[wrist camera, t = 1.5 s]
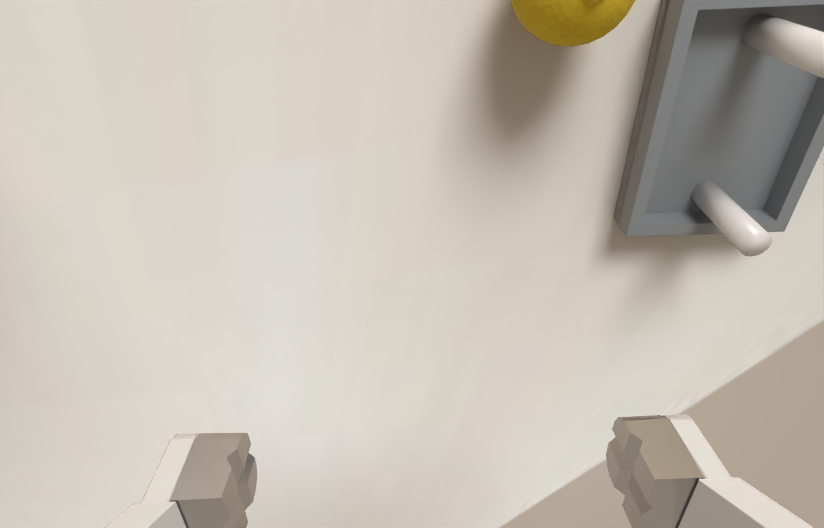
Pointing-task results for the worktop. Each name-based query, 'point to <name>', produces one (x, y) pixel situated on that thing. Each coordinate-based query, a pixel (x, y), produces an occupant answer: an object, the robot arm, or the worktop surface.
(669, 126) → the tray
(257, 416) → the worktop surface
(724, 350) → the worktop surface
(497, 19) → the worktop surface
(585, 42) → the lemon
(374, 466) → the worktop surface
